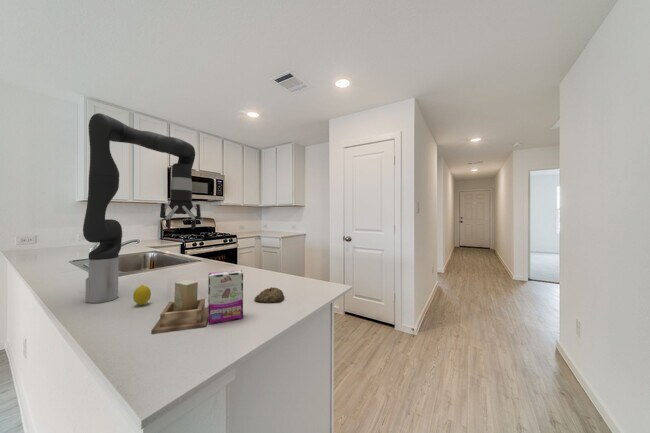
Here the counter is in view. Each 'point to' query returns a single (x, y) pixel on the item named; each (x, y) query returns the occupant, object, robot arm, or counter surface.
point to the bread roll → (270, 296)
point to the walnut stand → (181, 318)
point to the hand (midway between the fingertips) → (180, 228)
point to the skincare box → (185, 295)
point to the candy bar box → (225, 296)
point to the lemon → (142, 295)
